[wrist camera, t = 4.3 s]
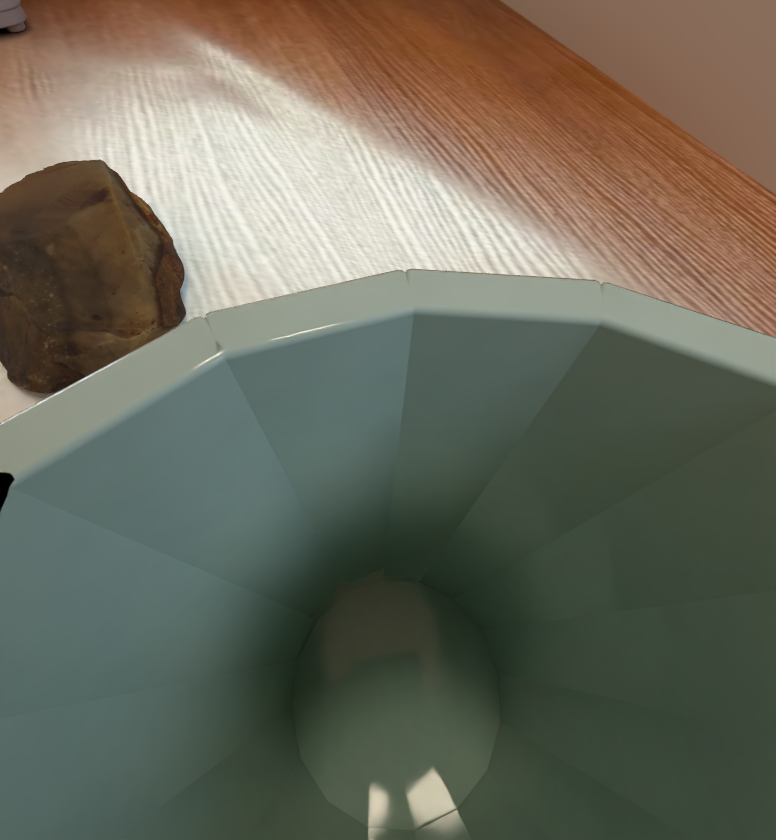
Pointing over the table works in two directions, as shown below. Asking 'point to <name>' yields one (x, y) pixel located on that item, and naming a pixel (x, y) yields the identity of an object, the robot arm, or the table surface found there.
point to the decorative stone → (80, 275)
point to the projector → (12, 15)
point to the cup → (398, 573)
